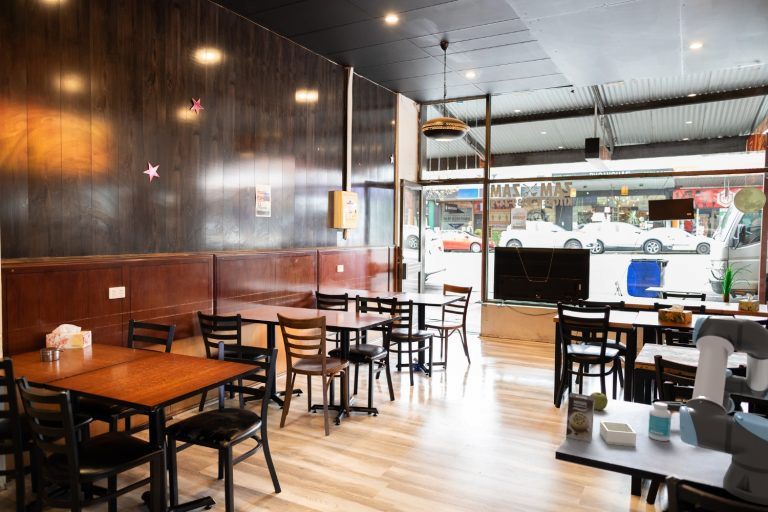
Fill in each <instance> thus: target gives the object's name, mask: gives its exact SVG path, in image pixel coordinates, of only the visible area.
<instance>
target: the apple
mask: <svg viewBox="0 0 768 512" xmlns="http://www.w3.org/2000/svg"><path fill="white" fill-rule="evenodd" d="M589 396H593V397H595V402H594V410H597V411H603V410H604V409H606V407H607V405H608V396H606V395H605V394H604V393H602V392H592V393H591V394H590V395H589Z"/></svg>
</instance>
